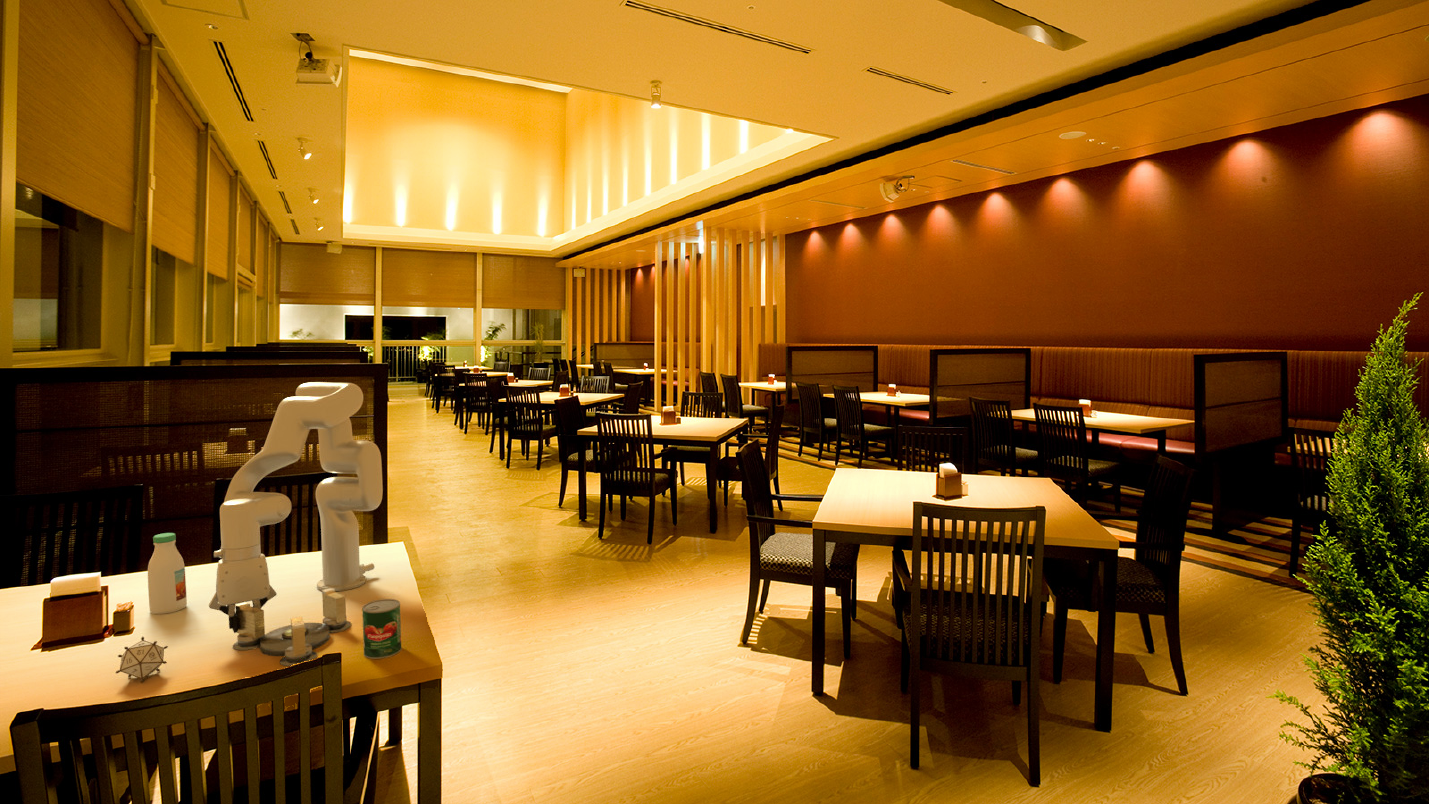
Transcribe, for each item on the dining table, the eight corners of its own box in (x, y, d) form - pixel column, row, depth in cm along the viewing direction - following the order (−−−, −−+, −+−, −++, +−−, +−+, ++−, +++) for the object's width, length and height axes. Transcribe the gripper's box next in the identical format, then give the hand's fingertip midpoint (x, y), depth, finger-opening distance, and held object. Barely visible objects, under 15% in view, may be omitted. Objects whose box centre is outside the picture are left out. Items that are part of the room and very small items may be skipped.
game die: (140, 691, 148) (141, 645, 152) (178, 676, 148) (178, 631, 152) (103, 689, 140) (104, 641, 144) (143, 674, 140) (144, 626, 144)
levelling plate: (316, 613, 181) (315, 600, 181) (381, 631, 171) (381, 617, 170) (225, 646, 161) (224, 632, 161) (293, 669, 151) (292, 653, 150)
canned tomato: (394, 641, 165) (392, 596, 164) (407, 652, 160) (405, 605, 159) (358, 651, 160) (356, 604, 159) (370, 662, 154) (369, 614, 153)
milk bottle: (166, 616, 178) (162, 539, 177) (141, 613, 180) (137, 537, 178) (194, 605, 186) (190, 531, 184) (170, 602, 187) (166, 530, 186)
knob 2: (313, 659, 154) (312, 622, 153) (286, 665, 151) (284, 628, 150) (310, 648, 160) (309, 612, 159) (284, 653, 157) (282, 617, 156)
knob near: (317, 625, 173) (315, 592, 172) (338, 618, 177) (337, 586, 176) (331, 632, 168) (329, 598, 168) (352, 625, 173) (351, 592, 172)
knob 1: (230, 642, 162) (228, 607, 161) (253, 634, 167) (251, 600, 166) (248, 648, 159) (247, 613, 158) (271, 640, 164) (270, 605, 163)
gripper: (199, 563, 154) (203, 643, 156) (285, 549, 165) (288, 624, 167) (196, 555, 160) (199, 632, 161) (279, 542, 171) (281, 615, 172)
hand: (244, 627), depth 164 cm, fingers closed on knob 1, 3 cm apart
